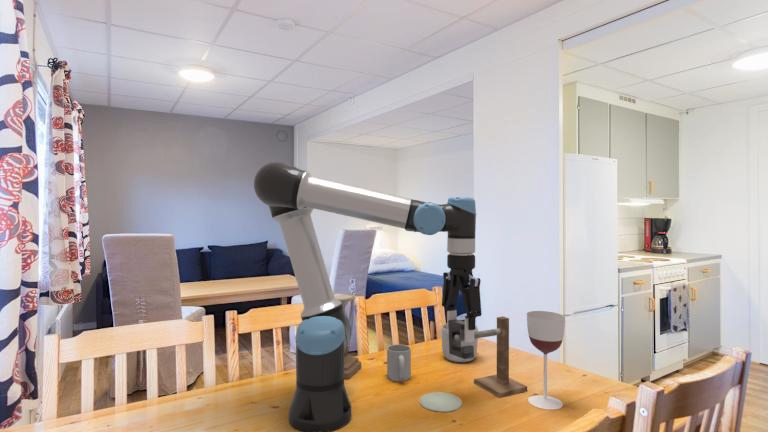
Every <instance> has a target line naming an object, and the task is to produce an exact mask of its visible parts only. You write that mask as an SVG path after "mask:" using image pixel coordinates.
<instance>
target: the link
mask: <svg viewBox="0 0 768 432" xmlns="http://www.w3.org/2000/svg"><path fill="white" fill-rule="evenodd" d="M448 327H449V354H452V355H455V356H458V357H460V358H463V359H469V358H474V346H472V345H468V346H462V347H461V341H458V342H456V341H455V335H458V334H461V337H462V338H464V331H465V320H460V319H457V320H450V321H448ZM460 329H461V332H460ZM474 359H475V358H474Z"/></svg>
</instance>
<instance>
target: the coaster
mask: <svg viewBox="0 0 768 432" xmlns="http://www.w3.org/2000/svg"><path fill="white" fill-rule="evenodd" d="M462 404H463V402H462V399H460V398H459V396H456V395H454V394H451V393H449V392H448V393H447V392H443V391H442V392H428V393H425V394H423V395H422V396H421V397H420V398H419V405H420V406H421V407H422V408H423V409H426V410H428V411H432V412H436V413H450V412H455V411H457V410H459V409H460V408H461V407H462Z"/></svg>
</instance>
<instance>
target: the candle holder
mask: <svg viewBox="0 0 768 432" xmlns="http://www.w3.org/2000/svg"><path fill="white" fill-rule="evenodd" d="M333 295H334V297H335V298H336V299H338V300H339V301H341V303H342V306H343V309H344V313H345V314H346V316H347V317H348V318H349V316H348V313H347V312H346V307H347V305H348V304H349V302H351V301H354V300H355V299H356V295H355V294H353V293H349V292H347V293H346V292H336V293H335V292H334V293H333ZM351 341H352V337H351V338H350V341H349V343H351ZM349 352H350V347H349V346H347V348H346V351H345V354H344V380H350V379H351V378H352V377H354V375H356V374H357V372H358V371H360V370H361V369H362V361H359V358H358V357H356V356H351V355H350V354H349Z"/></svg>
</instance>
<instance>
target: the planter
mask: <svg viewBox="0 0 768 432" xmlns="http://www.w3.org/2000/svg"><path fill="white" fill-rule="evenodd" d="M440 327H441V330H440V331H441V332H440V333H441V335H440V336H441V349H442V354H443V356H444V358H445V359H447V360H448V361H450V362H454V363H468V362H471V361H473V360H474V359H475V358H476V356H477V353H478V340H479V338H477V339H474V341H473V342H467V343H466V342H464V341H461V347H462V346H468V345H472V346H474V358H469V359H463V358H460V357H458V356H455V355H452V354H449V335H448V334H447V322H445V323H443V324H442V325H441V326H440ZM478 331H479V327H478V326H477V325H475V330H474V332H478ZM460 332H461V329H460Z"/></svg>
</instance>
